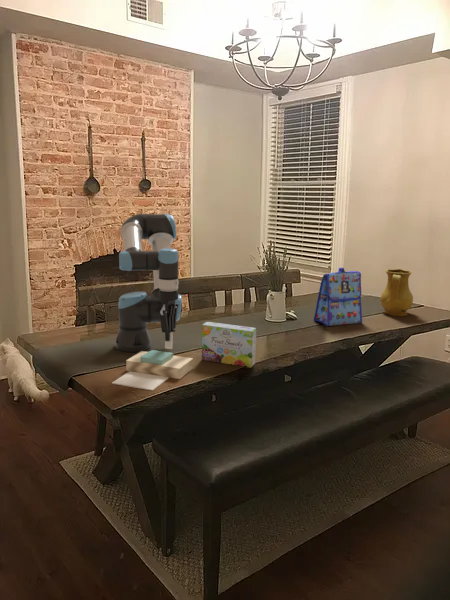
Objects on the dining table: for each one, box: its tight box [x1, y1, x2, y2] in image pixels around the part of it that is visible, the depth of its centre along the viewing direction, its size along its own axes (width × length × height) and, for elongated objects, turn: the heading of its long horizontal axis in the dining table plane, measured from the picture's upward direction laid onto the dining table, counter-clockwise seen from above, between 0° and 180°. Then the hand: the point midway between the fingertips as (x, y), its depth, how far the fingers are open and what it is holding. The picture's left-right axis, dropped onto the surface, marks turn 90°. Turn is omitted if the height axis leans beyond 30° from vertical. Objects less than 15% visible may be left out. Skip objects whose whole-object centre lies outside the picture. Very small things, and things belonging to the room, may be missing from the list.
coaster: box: [140, 349, 174, 365], centre depth 190 cm, size 9×9×2 cm
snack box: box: [201, 321, 257, 368], centre depth 199 cm, size 21×6×15 cm, turn 69°
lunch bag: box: [313, 267, 363, 327], centre depth 261 cm, size 22×14×29 cm, turn 114°
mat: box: [111, 371, 169, 391], centre depth 180 cm, size 16×12×1 cm
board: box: [125, 350, 194, 380], centre depth 191 cm, size 22×12×4 cm, turn 70°
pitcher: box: [379, 268, 414, 317], centre depth 281 cm, size 17×19×25 cm
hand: (168, 348), depth 199 cm, fingers closed
